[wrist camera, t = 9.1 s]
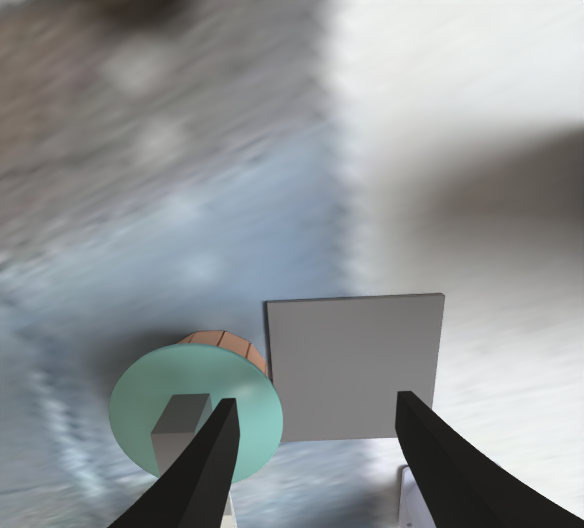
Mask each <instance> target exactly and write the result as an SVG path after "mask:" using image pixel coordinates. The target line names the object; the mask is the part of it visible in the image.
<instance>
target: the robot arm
mask: <svg viewBox="0 0 584 528" xmlns="http://www.w3.org/2000/svg"><path fill="white" fill-rule="evenodd" d="M395 430H396V434H397V437H398V440H399V443H400V446H401V449H402V452H403V454H404V457H405V459H406V461H407V463H408V466H409V467H405V468H404V469H403V474H402V485H401V497H400V508H399V520H398V522H399V525H400V527H402V528H584V520H583V519H581V518H579V517H577V516H576V515H574V514H572V513H571V512H569V511H567V510H565V509H564V508H562V507H560V506H559V505H557V504H555V503H554V502H552V501H551V500H549V499H547V498H546V497H544V496H543V495H541V494H539V493H538V492H536V491H535V490H533V489H532V488H530V487H529V486H527V485H526V484H524V483H523V482H521V481H520V480H518V479H517V478H515V477H514V476H512V475H511V474H509V473H508V472H507V471H505V470H504V469H503V468H501V466H500V465H499V464H496V463H494V462H493V461H492V460H490V459H489V458H488V457H486V456H485V455H484V454H482V453H481V452H480V451H479V450H477V449H476V448H475V447H474V446H472V445H471V444H470V443H469V442H468V441H466V440H465V439H464V438H463V437H461V436H460V435H459V434H458V433H457V432H456V431H454V430H453V429H452V428H451V427H450V426H449V425H448V424H447V423H445V422H444V421H443V420H442V419H441V418H440V417H439V416H438V415H437V414H436V413H435V412H433V411H432V410H431V409H430V408H429V407H428V406H427V405H426V404H425V403H424V402H423V401H422V400H421V399H420V398H419V397H417V396H416V395H415V394H414V393H413V392H412V391H397V404H396V418H395ZM239 441H240V426H239V418H238V410H237V402H236V398H222V399H221V400H220V402H219V403H218V405H217V406H216V408H215V409H214V411H213V412H212V413H211V415H210V416H209V418H208V419H207V421H206V422H205V423H204V425H203V426H202V427H201V429H200V430H199V431H198V433H197V434H196V435H195V437H194V438H193V439H192V441H191V442H190V443H189V445H188V446H187V447H186V448H185V449H184V451H183V452H182V453H181V454H180V455H179V457H178V458H177V459H176V460H175V461H174V463H173V464H172V465H171V466H170V467H169V468H168V469H167V471H166V472H165V473H164V474H163V475H162V476H161V477H160V478H159V479H158V480H157V481H156V482H155V483H154V484H153V486H152V487H151V488H149V489H148V490H147V491H146V492H145V493H144V494H143V495H142V496H141V497H140V498H139V499H138V500H137V501H136V502H135V503H134V504H133V505H132V506H131V507H130V508H129V509H128V510H127V511H126V512H125V513H123V514H122V515H121V516H120V517H119V518H118V519H117V520H115V521H114V522H113V523H112V524H111V525H110V526H109V527H107V528H220V527H221V522H222V518H223V514H224V510H225V506H226V502H227V498H228V494H229V490H230V486H231V482H232V478H233V474H234V470H235V466H236V461H237V455H238V449H239Z"/></svg>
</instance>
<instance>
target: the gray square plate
mask: <svg viewBox="0 0 584 528" xmlns="http://www.w3.org/2000/svg"><path fill="white" fill-rule="evenodd" d="M444 300H445V295H443V294H442V293H436V294H413V295H390V296H367V297H344V298H321V299H298V300H276V301H268V302H267V308H268V321H269V334H270V347H271V360H272V373H273V385H274V387H275V389H276V391H277V393H278V395H279V398H280V401H281V404H282V410H283V430H282V436H281V440H280V442H293V441H319V440H345V439H370V438H396V437H397V434H396V430H395V418H396V404H397V391H412V392H413V393H414V394H415V395H416V396H417V397H419V398H420V399H421V400H422V401H423V402H424V403H425V404H426V405H427V406H428V407H429V408H430V409H431V410H432V403H433V395H434V386H435V378H436V369H437V360H438V352H439V343H440V335H441V326H442V317H443V309H444Z"/></svg>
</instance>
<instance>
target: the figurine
mask: <svg viewBox="0 0 584 528" xmlns="http://www.w3.org/2000/svg"><path fill="white" fill-rule="evenodd" d="M220 528H237V523H236V518H235V513H234V508H233V504H232V500H231V495H230V491H229V494H228V498H227V502H226V506H225V510H224V514H223V518H222V522H221V527H220Z"/></svg>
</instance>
